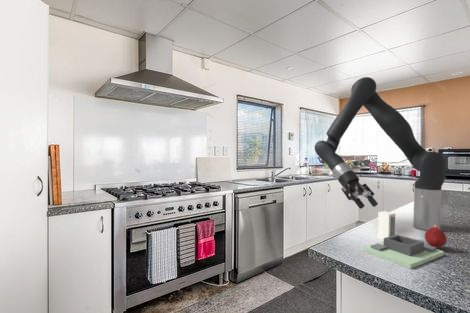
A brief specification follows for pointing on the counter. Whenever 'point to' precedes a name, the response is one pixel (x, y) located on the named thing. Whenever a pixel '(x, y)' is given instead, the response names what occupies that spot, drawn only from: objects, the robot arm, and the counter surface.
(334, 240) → the counter surface
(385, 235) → the plug
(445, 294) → the counter surface
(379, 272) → the counter surface
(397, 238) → the board
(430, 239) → the onion
